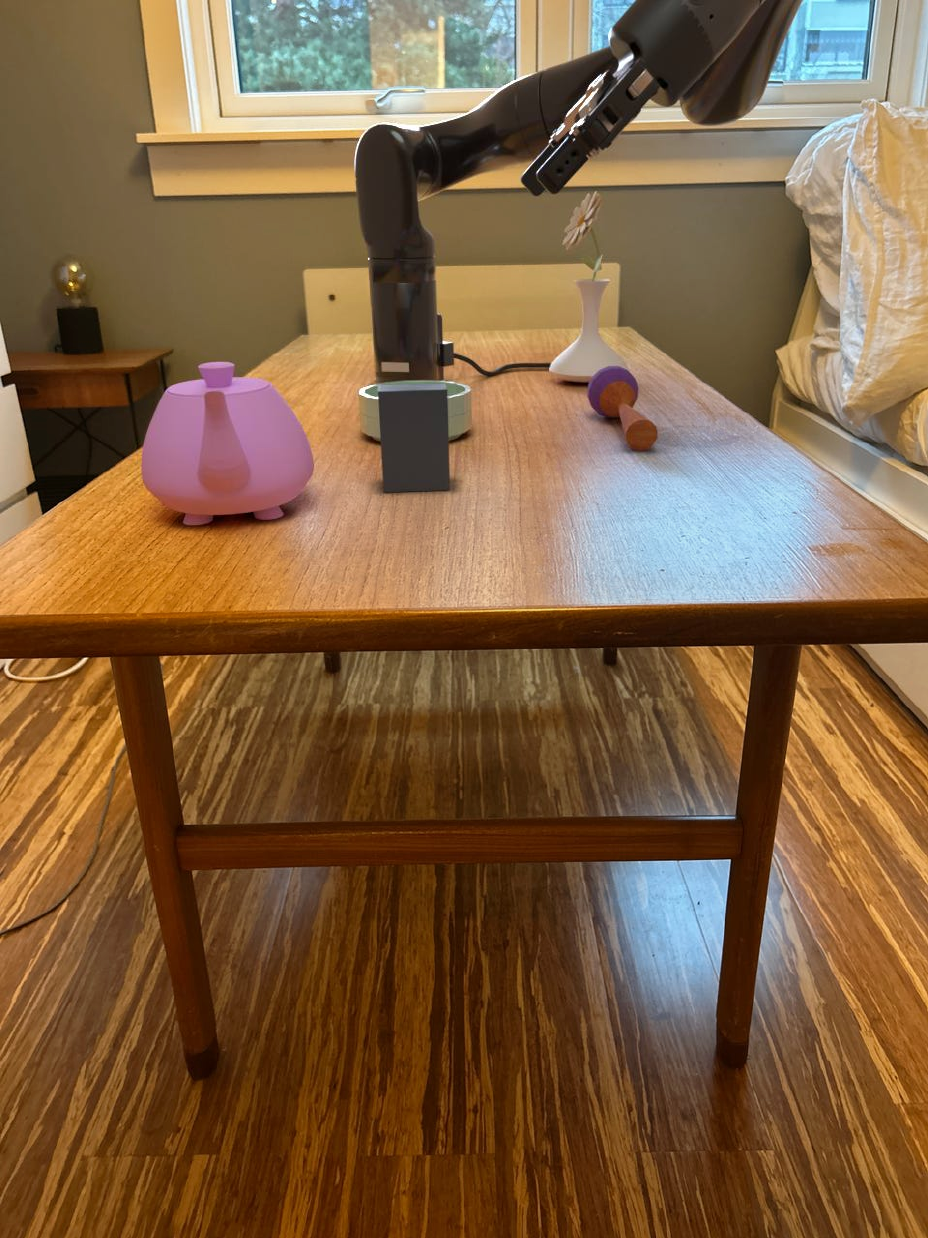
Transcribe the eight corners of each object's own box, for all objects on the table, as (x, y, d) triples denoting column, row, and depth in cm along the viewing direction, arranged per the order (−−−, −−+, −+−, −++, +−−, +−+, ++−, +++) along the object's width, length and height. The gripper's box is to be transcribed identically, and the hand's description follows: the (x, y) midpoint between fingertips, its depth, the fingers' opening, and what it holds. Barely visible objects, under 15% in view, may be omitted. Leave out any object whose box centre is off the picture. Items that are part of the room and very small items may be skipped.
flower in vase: (550, 374, 137) (554, 192, 127) (626, 374, 136) (636, 190, 125) (546, 390, 125) (549, 191, 115) (629, 390, 124) (640, 189, 113)
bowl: (416, 418, 110) (415, 376, 108) (493, 432, 102) (493, 387, 100) (339, 436, 102) (335, 391, 100) (416, 453, 94) (414, 405, 92)
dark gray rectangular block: (383, 483, 84) (378, 385, 80) (448, 481, 84) (445, 383, 81) (383, 492, 81) (377, 391, 77) (449, 490, 82) (447, 389, 78)
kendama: (609, 413, 91) (580, 366, 109) (616, 468, 94) (587, 414, 112) (667, 401, 91) (629, 355, 108) (673, 456, 94) (635, 404, 111)
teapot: (325, 542, 69) (311, 381, 64) (133, 558, 67) (103, 392, 62) (312, 474, 87) (300, 344, 82) (160, 485, 85) (138, 351, 80)
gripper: (746, 46, 65) (583, 223, 69) (685, 73, 78) (551, 221, 82) (680, -44, 62) (514, 146, 66) (629, 0, 75) (493, 156, 79)
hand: (535, 187), depth 74 cm, fingers open, 8 cm apart
